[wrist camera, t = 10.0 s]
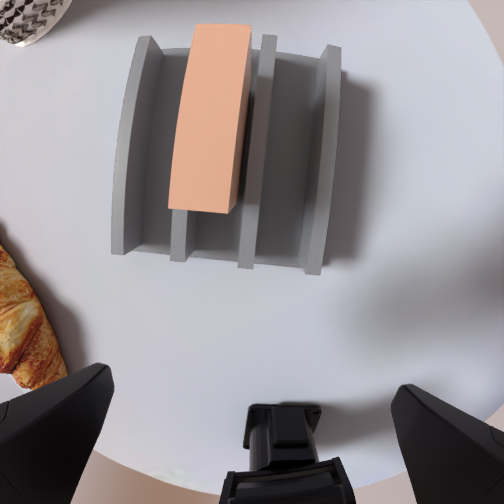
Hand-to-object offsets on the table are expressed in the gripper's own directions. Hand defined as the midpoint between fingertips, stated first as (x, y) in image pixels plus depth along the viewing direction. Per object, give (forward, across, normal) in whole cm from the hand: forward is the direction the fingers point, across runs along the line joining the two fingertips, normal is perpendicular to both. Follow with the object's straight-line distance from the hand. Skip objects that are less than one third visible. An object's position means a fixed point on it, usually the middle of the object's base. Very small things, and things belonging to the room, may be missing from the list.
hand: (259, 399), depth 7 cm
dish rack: (+12, +2, -8) cm, 15 cm away
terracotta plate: (+11, +2, -8) cm, 14 cm away
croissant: (+12, +22, +7) cm, 26 cm away
